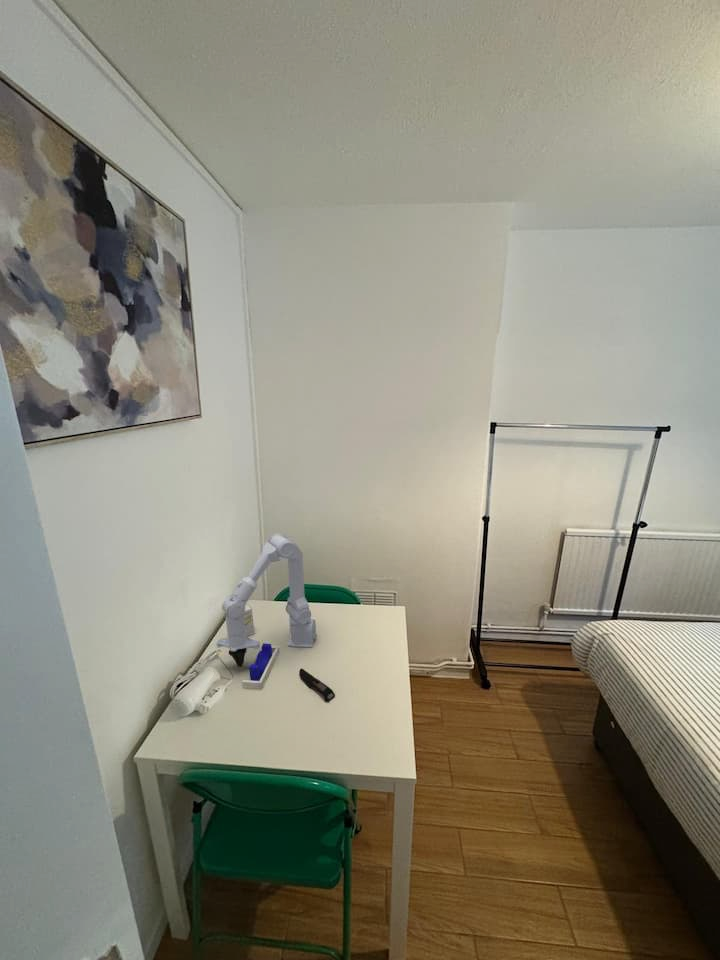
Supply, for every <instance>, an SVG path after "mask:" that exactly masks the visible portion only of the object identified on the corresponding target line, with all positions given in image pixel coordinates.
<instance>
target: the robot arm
mask: <svg viewBox="0 0 720 960" xmlns="http://www.w3.org/2000/svg"><path fill="white" fill-rule="evenodd" d="M303 558H304V556H303V551H302V550H301V549H300V547H299V546H298V545H297V543H296V542H293V540H290V539H289V538H288V537H287V536H285V535H284V534H281V533H277V532H276V533H272V534H271V535H270V536H269V538H268V540H267V541H266V542H265V543H264V546H263V549H262V551H261V554H260V555H259V556H258V559H257V561H256V562H255V564H254V566H253V567H252V569H251V570H250V572H249V574H248V575H247V576H245V577H242V578H241V580H239V581H238V582H237V583H236V585H237V586H236V587H235V589H234V590H233V592H232V593H231V594H230V595H229V596H228V597H226V598H225V599H224V600H223V602H222V605H221V609H222V611H224V612H225V624H226V632H227V638H218V640H217V641H216V648H219V649H220V648H221V647H224V648H226V649H227V648H228V649H229V650H228V655H229V656H230V657H232V659H233V660H234V662H235V664H236V666H237V667H238V668H242V667H243V665H244V662H245V656H246V653H245V652H247V649H254V650H258V649H259V648H260V641H259V640H255V639H252V638H248V637H246V633H245V625H244V617H243V613H244V612H245V605H246V604H248V603H247V602H248V601H249V599H250V598H251V597H252V596H253V593H254V592H255V590H256V589H257V587H258V586H257V585H258V584H257V582H258V580H259V579H260V577H261V576H262V575H263V574H264V572H265V571H266V570H267V568H268V567H269V566H270V565H271V563H275V562H279V561H280V562H281V559H286V560H287V566H288V569H287V570H288V580H289V581H288V583H289V584H288V585H289V587H288V588H289V597H287V603H286V605H285V612H286V613H287V615H288V616H289V619H288V620H289V622H288V623H289V632H290V634H289V635H290V639H289V640H288V643H287V647H295V648H296V647H297V648H313V646H314V643H315V640H316V637H317V625H316V620H315V619H314V618H312V612H311V609H310V606H309V603H308V600H307V599H306V597H305V595H306V594H305V579H304V559H303Z"/></svg>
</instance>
